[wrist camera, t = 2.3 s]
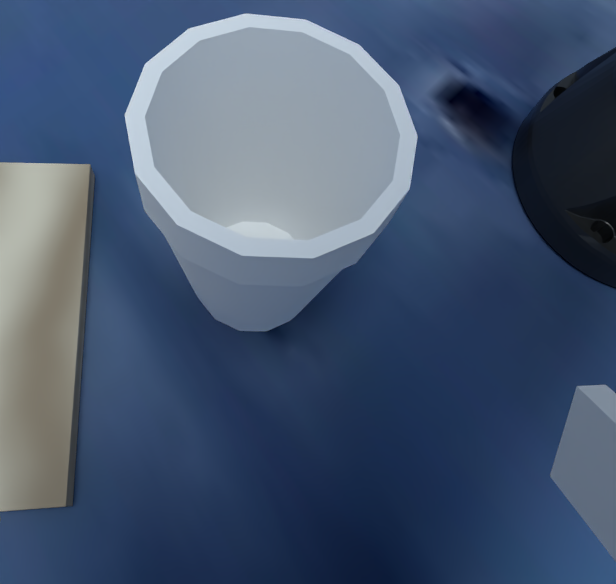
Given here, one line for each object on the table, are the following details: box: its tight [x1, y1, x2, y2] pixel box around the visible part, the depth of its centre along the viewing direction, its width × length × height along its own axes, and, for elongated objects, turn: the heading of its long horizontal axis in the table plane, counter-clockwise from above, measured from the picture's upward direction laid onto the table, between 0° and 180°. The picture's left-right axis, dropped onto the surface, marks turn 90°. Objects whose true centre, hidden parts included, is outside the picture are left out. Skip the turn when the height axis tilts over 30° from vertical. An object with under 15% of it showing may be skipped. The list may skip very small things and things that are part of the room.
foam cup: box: [125, 14, 418, 331], centre depth 24 cm, size 10×9×13 cm
